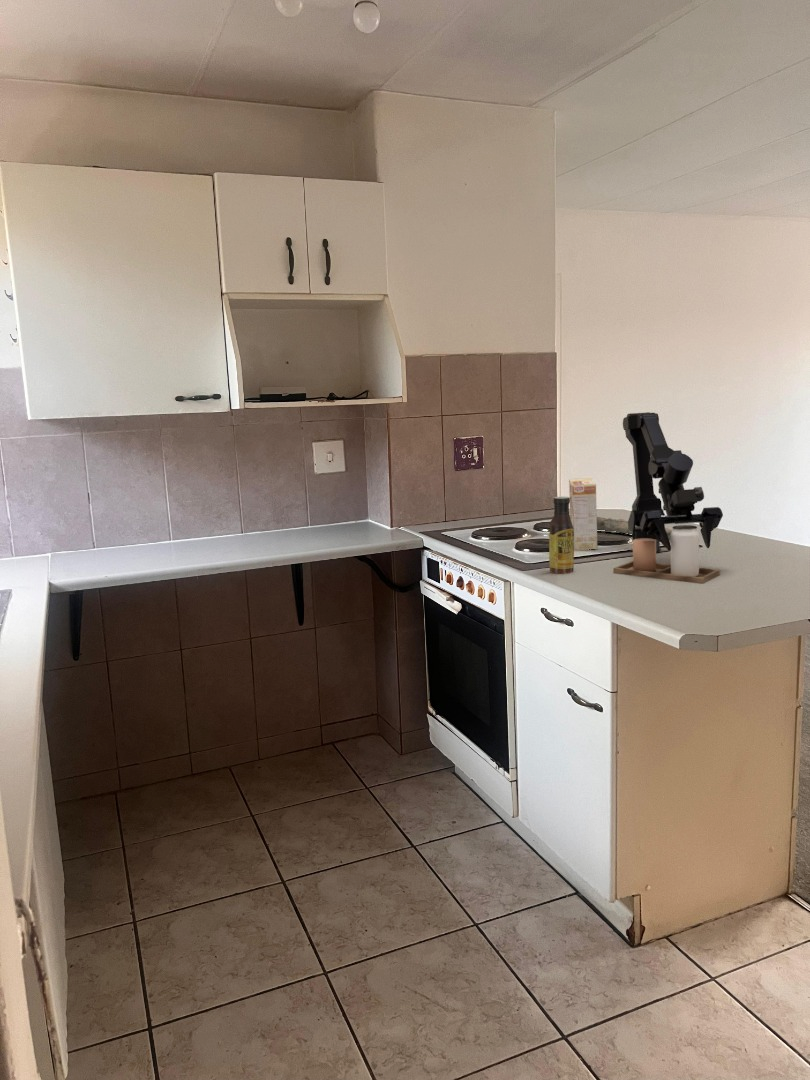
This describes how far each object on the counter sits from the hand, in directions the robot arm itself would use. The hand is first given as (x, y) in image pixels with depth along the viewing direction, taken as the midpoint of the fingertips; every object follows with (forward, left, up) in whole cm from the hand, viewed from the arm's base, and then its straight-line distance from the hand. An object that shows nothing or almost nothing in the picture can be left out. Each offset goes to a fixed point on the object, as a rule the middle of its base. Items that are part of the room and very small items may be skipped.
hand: (689, 548), depth 193 cm
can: (-2, +1, -7) cm, 8 cm away
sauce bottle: (-30, -8, -8) cm, 33 cm away
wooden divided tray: (-6, +1, -8) cm, 10 cm away
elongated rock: (-43, +49, -8) cm, 65 cm away
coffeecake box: (-44, +26, -8) cm, 52 cm away
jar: (-12, +1, -7) cm, 14 cm away
